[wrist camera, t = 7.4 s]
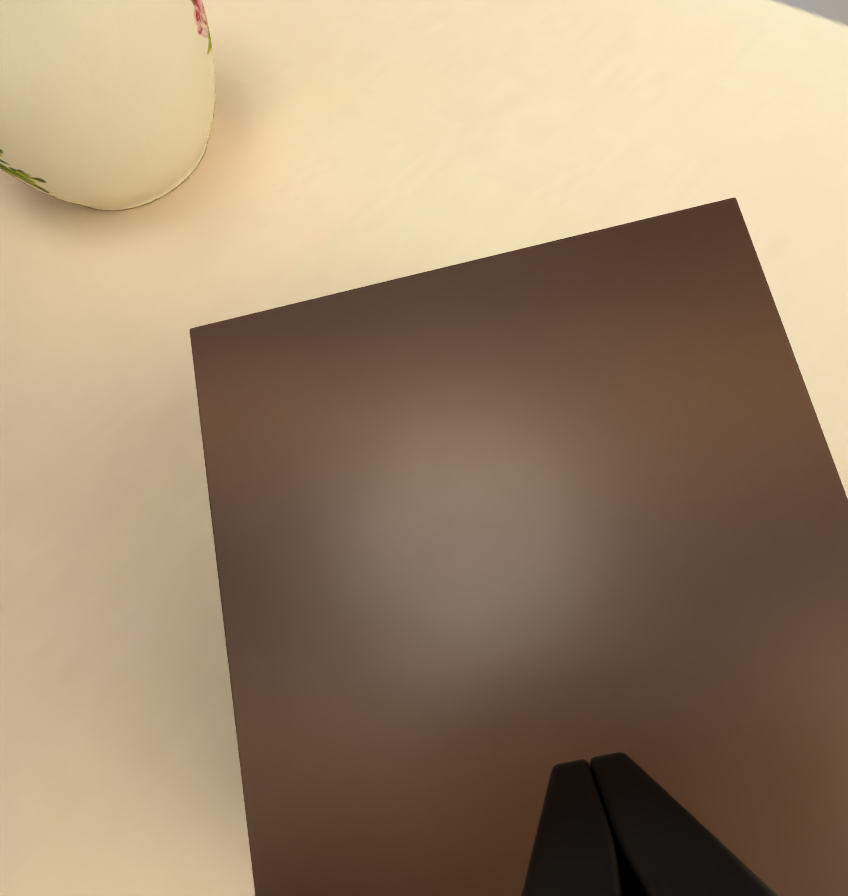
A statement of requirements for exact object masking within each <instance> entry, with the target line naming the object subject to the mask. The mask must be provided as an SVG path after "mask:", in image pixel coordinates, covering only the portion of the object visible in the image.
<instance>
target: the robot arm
mask: <svg viewBox="0 0 848 896" xmlns="http://www.w3.org/2000/svg"><path fill="white" fill-rule="evenodd" d="M521 896H779V895H778V894H777V893H776V892H775V891H774V890H773V889H771V888H770V887H769V886H768V885H767V884H766V883H765V882H764V881H763V880H762V879H761V878H760V877H759V876H757V875H756V874H755V873H754V872H753V871H752V870H751V869H750V868H749V867H748V866H747V865H746V864H745V863H743V862H742V861H741V860H740V859H739V858H738V857H737V856H736V855H735V854H734V853H733V852H732V851H731V850H729V849H728V848H727V847H726V846H725V845H724V844H723V843H722V842H721V841H720V840H719V839H718V838H717V837H715V836H714V835H713V834H712V833H711V832H710V831H709V830H708V829H707V828H706V827H705V826H704V825H703V824H701V823H700V822H699V821H698V820H697V819H696V818H695V817H694V816H693V815H692V814H691V813H690V812H689V811H687V810H686V809H685V808H684V807H683V806H682V805H681V804H680V803H679V802H678V801H677V800H676V799H675V798H673V797H672V796H671V795H670V794H669V793H668V792H667V791H666V790H665V789H664V788H663V787H662V786H661V785H659V784H658V783H657V782H656V781H655V780H654V779H653V778H652V777H651V776H650V775H649V774H648V773H647V772H645V771H644V770H643V769H642V768H641V767H640V766H639V765H638V764H637V763H636V762H635V761H634V760H633V759H631V758H630V757H629V756H628V755H627V754H625V753H623V752H615V753H610V754H605V755H600V756H595V757H592V758H591V760H590V765H589V763H588V762H587V761H586V760H584V759H579V760H574V761H569V762H564V763H559V764H556V765H555V766H553V768H552V770H551V774H550V778H549V782H548V786H547V790H546V795H545V799H544V803H543V807H542V811H541V816H540V820H539V824H538V828H537V832H536V836H535V841H534V845H533V849H532V853H531V857H530V862H529V866H528V870H527V874H526V878H525V882H524V887H523V891H522V895H521Z"/></svg>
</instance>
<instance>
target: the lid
mask: <svg viewBox="0 0 848 896" xmlns="http://www.w3.org/2000/svg"><path fill="white" fill-rule="evenodd" d="M190 337H191V346H192V354H193V363H194V371H195V380H196V389H197V397H198V406H199V414H200V423H201V432H202V440H203V449H204V458H205V466H206V475H207V483H208V492H209V501H210V509H211V518H212V526H213V535H214V544H215V552H216V561H217V569H218V578H219V587H220V595H221V604H222V612H223V621H224V630H225V638H226V647H227V655H228V664H229V673H230V681H231V690H232V698H233V707H234V716H235V724H236V733H237V741H238V750H239V759H240V767H241V776H242V784H243V793H244V802H245V810H246V819H247V828H248V836H249V845H250V853H251V862H252V871H253V879H254V888H255V896H521V895H522V891H523V887H524V882H525V878H526V874H527V870H528V866H529V862H530V857H531V853H532V849H533V845H534V841H535V836H536V832H537V828H538V824H539V820H540V816H541V811H542V807H543V803H544V799H545V795H546V790H547V786H548V782H549V778H550V774H551V770H552V768H553V766H555V765H556V764H559V763H564V762H569V761H574V760H579V759H584V760H586V761H587V762H588V763H589V765H590V760H591V758H592V757H595V756H600V755H605V754H610V753H615V752H623V753H625V754H627V755H628V756H629V757H630V758H631V759H633V760H634V761H635V762H636V763H637V764H638V765H639V766H640V767H641V768H642V769H643V770H644V771H645V772H647V773H648V774H649V775H650V776H651V777H652V778H653V779H654V780H655V781H656V782H657V783H658V784H659V785H661V786H662V787H663V788H664V789H665V790H666V791H667V792H668V793H669V794H670V795H671V796H672V797H673V798H675V799H676V800H677V801H678V802H679V803H680V804H681V805H682V806H683V807H684V808H685V809H686V810H687V811H689V812H690V813H691V814H692V815H693V816H694V817H695V818H696V819H697V820H698V821H699V822H700V823H701V824H703V825H704V826H705V827H706V828H707V829H708V830H709V831H710V832H711V833H712V834H713V835H714V836H715V837H717V838H718V839H719V840H720V841H721V842H722V843H723V844H724V845H725V846H726V847H727V848H728V849H729V850H731V851H732V852H733V853H734V854H735V855H736V856H737V857H738V858H739V859H740V860H741V861H742V862H743V863H745V864H746V865H747V866H748V867H749V868H750V869H751V870H752V871H753V872H754V873H755V874H756V875H757V876H759V877H760V878H761V879H762V880H763V881H764V882H765V883H766V884H767V885H768V886H769V887H770V888H771V889H773V890H774V891H775V892H776V893H777V894H778V895H779V896H848V499H847V496H846V494H845V491H844V488H843V486H842V483H841V480H840V477H839V475H838V472H837V469H836V467H835V464H834V461H833V459H832V456H831V453H830V451H829V448H828V445H827V442H826V440H825V437H824V434H823V432H822V429H821V426H820V424H819V421H818V418H817V416H816V413H815V410H814V407H813V405H812V402H811V399H810V397H809V394H808V391H807V389H806V386H805V383H804V380H803V378H802V375H801V372H800V370H799V367H798V364H797V362H796V359H795V356H794V354H793V351H792V348H791V345H790V343H789V340H788V337H787V335H786V332H785V329H784V327H783V324H782V321H781V319H780V316H779V313H778V310H777V308H776V305H775V302H774V300H773V297H772V294H771V292H770V289H769V286H768V283H767V281H766V278H765V275H764V273H763V270H762V267H761V265H760V262H759V259H758V257H757V254H756V251H755V248H754V246H753V243H752V240H751V238H750V235H749V232H748V230H747V227H746V224H745V222H744V219H743V216H742V213H741V211H740V208H739V205H738V203H737V200H736V198H730V199H726V200H722V201H718V202H714V203H710V204H705V205H701V206H697V207H693V208H689V209H685V210H681V211H676V212H672V213H668V214H664V215H660V216H656V217H652V218H647V219H643V220H639V221H635V222H631V223H627V224H623V225H618V226H614V227H610V228H606V229H602V230H598V231H593V232H589V233H585V234H581V235H577V236H573V237H569V238H564V239H560V240H556V241H552V242H548V243H544V244H540V245H535V246H531V247H527V248H523V249H519V250H515V251H510V252H506V253H502V254H498V255H494V256H490V257H486V258H481V259H477V260H473V261H469V262H465V263H461V264H457V265H452V266H448V267H444V268H440V269H436V270H432V271H428V272H423V273H419V274H415V275H411V276H407V277H403V278H398V279H394V280H390V281H386V282H382V283H378V284H374V285H369V286H365V287H361V288H357V289H353V290H349V291H345V292H340V293H336V294H332V295H328V296H324V297H320V298H316V299H311V300H307V301H303V302H299V303H295V304H291V305H286V306H282V307H278V308H274V309H270V310H266V311H262V312H257V313H253V314H249V315H245V316H241V317H237V318H233V319H228V320H224V321H220V322H216V323H212V324H208V325H204V326H199V327H195V328H191V329H190Z"/></svg>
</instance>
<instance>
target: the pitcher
mask: <svg viewBox="0 0 848 896" xmlns="http://www.w3.org/2000/svg"><path fill="white" fill-rule="evenodd" d="M214 104H215V75H214V62H213V54H212V45H211V38H210V33H209V28H208V23H207V17H206V14H205V10H204V6H203V3H202V0H0V169H2V170H3V171H5V172H6V173H8V174H10V175H11V176H13V177H15V178H16V179H18V180H20V181H22V182H24V183H26V184H27V185H29V186H31V187H33V188H35V189H37V190H39V191H41V192H43V193H46V194H48V195H51V196H53V197H55V198H58V199H61V200H64V201H68V202H72V203H76V204H81V205H85V206H88V207H91V208H94V209H100V210H123V209H129V208H133V207H137V206H141V205H143V204H146V203H149V202H151V201H154V200H156V199H158V198H160V197H162V196H163V195H165V194H167V193H169V192H170V191H171V190H173V189H174V188H176V187H177V186H178V185H179V184H181V183H182V182H183V181H184V180H185V179H186V178H187V177H188V176H189V175H190V174H191V173H192V172H193V171H194V169H195V168H196V167H197V165H198V164H199V162H200V160H201V159H202V157H203V155H204V152H205V150H206V146H207V142H208V135H209V131H210V128H211V124H212V120H213V115H214Z"/></svg>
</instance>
